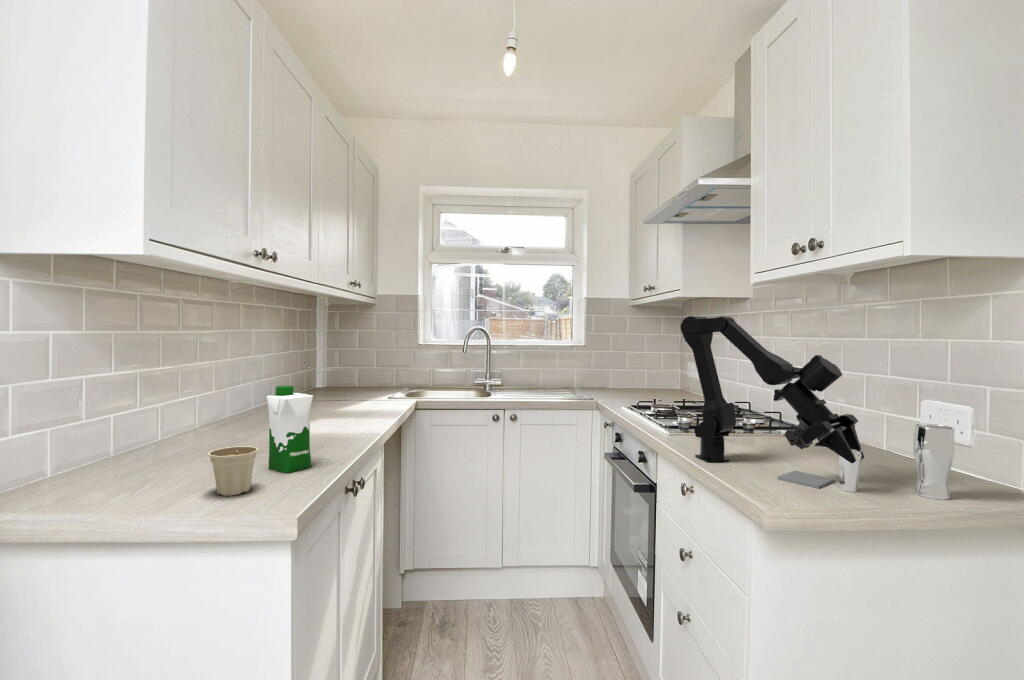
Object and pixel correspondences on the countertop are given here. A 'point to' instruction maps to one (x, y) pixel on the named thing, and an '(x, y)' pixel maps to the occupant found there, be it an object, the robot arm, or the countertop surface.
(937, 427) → the beer glass
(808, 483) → the coaster
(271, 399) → the milk carton
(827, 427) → the robot arm
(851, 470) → the milkshake
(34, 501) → the countertop surface
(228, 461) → the flower pot
